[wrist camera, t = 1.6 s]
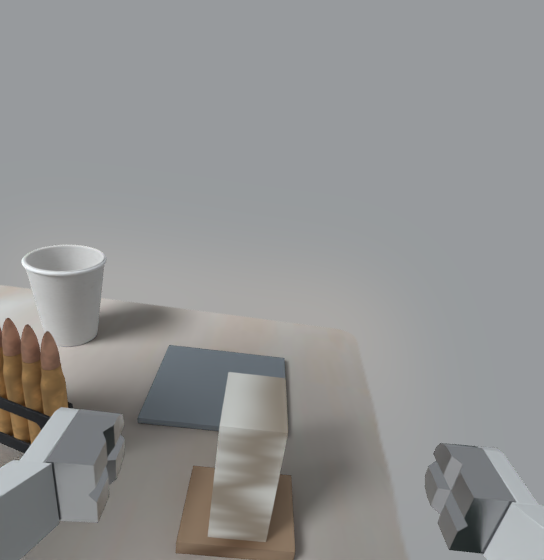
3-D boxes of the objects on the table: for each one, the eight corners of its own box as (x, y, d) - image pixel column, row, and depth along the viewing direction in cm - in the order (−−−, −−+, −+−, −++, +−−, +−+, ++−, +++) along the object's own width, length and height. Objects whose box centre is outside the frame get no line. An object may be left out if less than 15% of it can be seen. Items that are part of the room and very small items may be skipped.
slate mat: (137, 422, 36) (137, 417, 36) (169, 349, 47) (169, 345, 47) (286, 438, 37) (287, 433, 36) (283, 362, 48) (284, 358, 47)
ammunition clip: (79, 452, 32) (68, 329, 28) (62, 469, 31) (47, 341, 26) (-20, 411, 35) (-46, 291, 30) (-41, 425, 33) (-72, 301, 28)
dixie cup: (109, 314, 52) (107, 244, 48) (108, 350, 45) (105, 271, 41) (38, 318, 49) (29, 243, 45) (25, 357, 42) (13, 273, 38)
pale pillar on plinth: (175, 553, 26) (182, 428, 22) (192, 476, 32) (200, 364, 27) (292, 563, 27) (323, 443, 22) (288, 485, 32) (313, 376, 28)
